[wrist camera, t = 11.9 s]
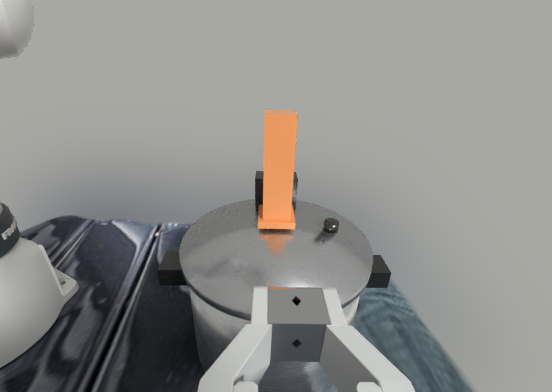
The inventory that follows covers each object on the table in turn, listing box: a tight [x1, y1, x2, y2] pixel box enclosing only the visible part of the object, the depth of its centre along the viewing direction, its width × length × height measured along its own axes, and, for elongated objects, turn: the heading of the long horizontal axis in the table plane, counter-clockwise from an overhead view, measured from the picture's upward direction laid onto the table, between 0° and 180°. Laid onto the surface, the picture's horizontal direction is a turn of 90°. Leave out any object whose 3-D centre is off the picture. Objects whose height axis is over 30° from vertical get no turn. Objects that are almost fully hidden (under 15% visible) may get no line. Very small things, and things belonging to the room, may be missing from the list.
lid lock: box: [258, 109, 298, 229], centre depth 29 cm, size 4×4×12 cm
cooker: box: [157, 171, 391, 392], centre depth 30 cm, size 19×24×17 cm
